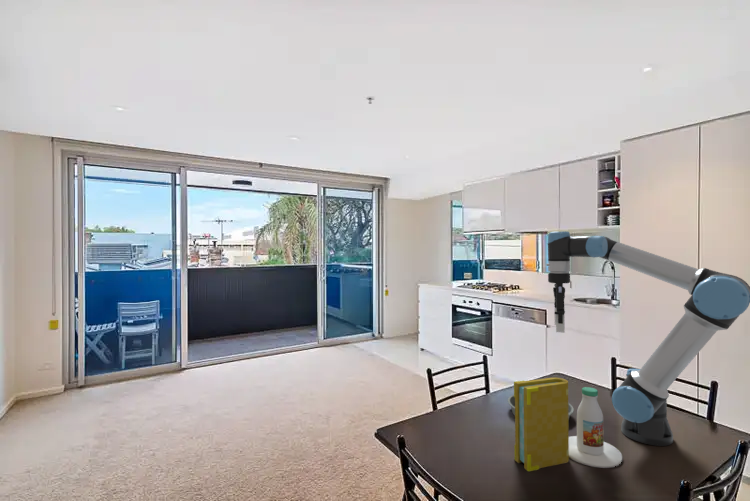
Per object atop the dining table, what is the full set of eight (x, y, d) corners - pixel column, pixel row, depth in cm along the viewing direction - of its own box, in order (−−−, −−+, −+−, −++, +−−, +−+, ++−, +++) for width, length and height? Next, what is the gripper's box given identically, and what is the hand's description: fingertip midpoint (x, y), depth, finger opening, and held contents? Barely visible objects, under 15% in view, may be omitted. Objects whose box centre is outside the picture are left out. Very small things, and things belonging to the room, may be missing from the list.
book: (528, 471, 118) (527, 389, 118) (514, 459, 125) (513, 381, 124) (574, 462, 123) (573, 383, 123) (558, 451, 129) (557, 376, 129)
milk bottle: (573, 450, 128) (573, 389, 128) (581, 441, 134) (580, 383, 133) (599, 458, 123) (599, 395, 123) (606, 449, 128) (606, 388, 128)
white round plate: (616, 444, 133) (616, 441, 133) (627, 472, 117) (627, 469, 117) (558, 435, 140) (558, 432, 140) (561, 460, 124) (561, 457, 124)
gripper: (547, 270, 161) (547, 321, 161) (549, 274, 137) (549, 334, 138) (567, 270, 158) (567, 322, 158) (572, 274, 135) (573, 336, 135)
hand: (559, 328), depth 148 cm, fingers open, 13 cm apart
